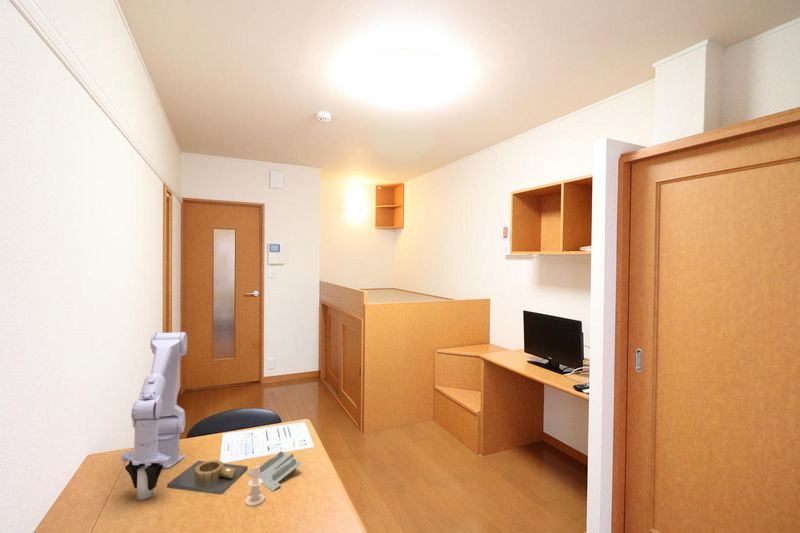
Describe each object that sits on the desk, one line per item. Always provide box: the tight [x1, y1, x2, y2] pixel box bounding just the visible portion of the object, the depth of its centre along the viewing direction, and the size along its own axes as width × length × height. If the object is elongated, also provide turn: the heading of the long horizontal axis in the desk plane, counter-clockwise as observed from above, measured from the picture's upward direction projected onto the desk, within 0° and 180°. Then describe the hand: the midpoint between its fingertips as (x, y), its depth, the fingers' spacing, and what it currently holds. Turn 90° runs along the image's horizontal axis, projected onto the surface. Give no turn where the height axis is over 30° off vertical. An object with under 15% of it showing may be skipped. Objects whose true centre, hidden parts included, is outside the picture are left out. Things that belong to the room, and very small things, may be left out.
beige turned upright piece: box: [244, 465, 265, 507], centre depth 111 cm, size 5×5×10 cm
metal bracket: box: [247, 450, 302, 493], centre depth 125 cm, size 14×6×15 cm
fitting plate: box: [166, 459, 249, 495], centre depth 122 cm, size 18×14×4 cm
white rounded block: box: [136, 465, 154, 501], centre depth 111 cm, size 4×4×8 cm
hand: (145, 487), depth 111 cm, fingers closed on white rounded block, 4 cm apart
